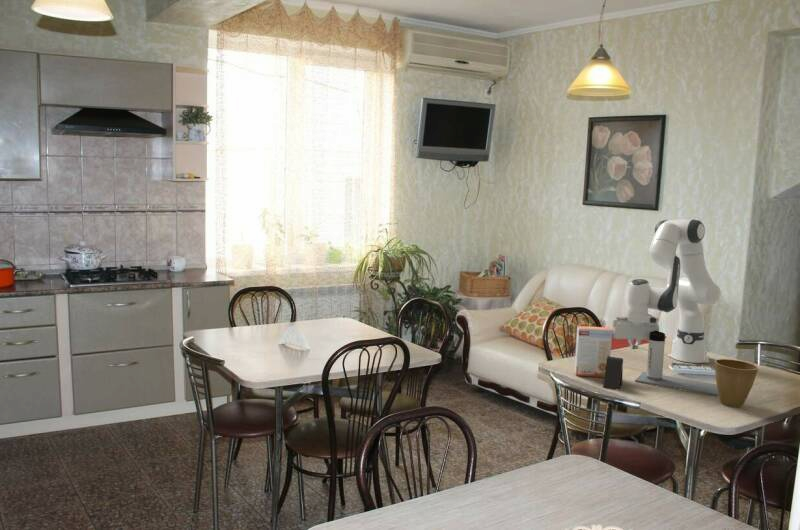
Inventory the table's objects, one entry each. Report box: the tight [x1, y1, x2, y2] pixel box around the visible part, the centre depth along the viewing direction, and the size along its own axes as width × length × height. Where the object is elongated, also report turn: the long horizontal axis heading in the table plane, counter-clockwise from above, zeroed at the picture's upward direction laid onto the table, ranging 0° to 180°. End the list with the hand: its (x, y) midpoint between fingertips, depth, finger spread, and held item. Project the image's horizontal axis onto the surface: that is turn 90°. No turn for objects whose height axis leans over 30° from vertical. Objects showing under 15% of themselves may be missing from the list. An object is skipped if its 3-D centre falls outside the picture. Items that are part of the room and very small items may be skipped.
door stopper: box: [602, 355, 624, 390], centre depth 286 cm, size 9×6×12 cm, turn 152°
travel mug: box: [646, 331, 666, 380], centre depth 298 cm, size 6×7×20 cm
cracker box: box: [573, 325, 613, 378], centre depth 301 cm, size 14×6×21 cm, turn 84°
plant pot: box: [714, 358, 759, 408], centre depth 268 cm, size 15×15×16 cm
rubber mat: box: [635, 371, 719, 397], centre depth 294 cm, size 16×32×1 cm, turn 59°
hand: (633, 349), depth 302 cm, fingers closed
